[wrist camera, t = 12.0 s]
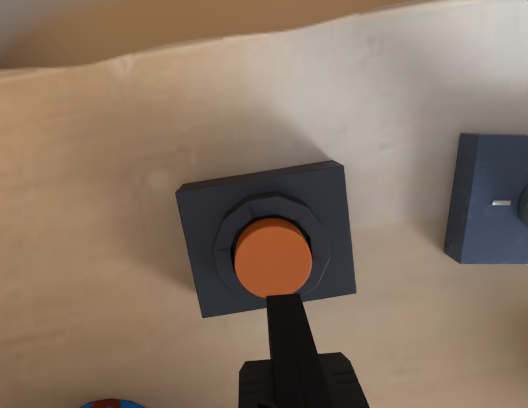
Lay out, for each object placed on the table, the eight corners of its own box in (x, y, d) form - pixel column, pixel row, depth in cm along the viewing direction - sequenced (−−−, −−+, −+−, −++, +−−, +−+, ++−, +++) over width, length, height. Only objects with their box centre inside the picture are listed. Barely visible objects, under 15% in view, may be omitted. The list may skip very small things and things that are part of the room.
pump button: (302, 212, 25) (307, 220, 23) (311, 279, 26) (316, 292, 24) (229, 223, 25) (228, 233, 23) (241, 290, 26) (241, 304, 24)
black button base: (333, 160, 29) (350, 168, 24) (345, 275, 31) (364, 305, 26) (182, 184, 29) (169, 197, 24) (206, 298, 31) (199, 332, 26)
